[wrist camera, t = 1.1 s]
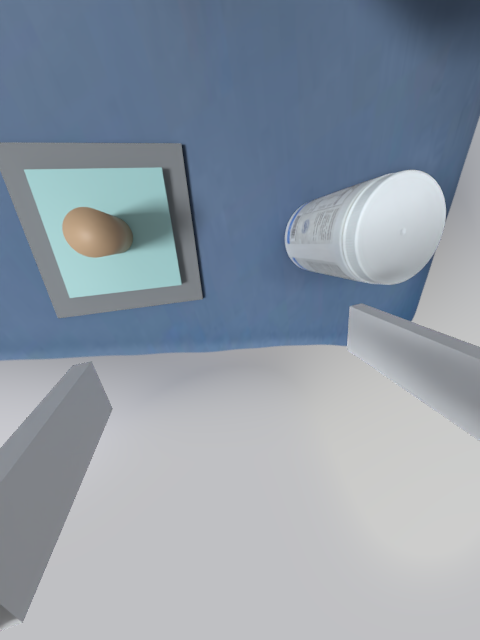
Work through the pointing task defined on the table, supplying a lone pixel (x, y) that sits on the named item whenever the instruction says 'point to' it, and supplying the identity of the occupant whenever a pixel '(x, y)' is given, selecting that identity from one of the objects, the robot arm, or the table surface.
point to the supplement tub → (370, 229)
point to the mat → (103, 155)
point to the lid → (107, 228)
